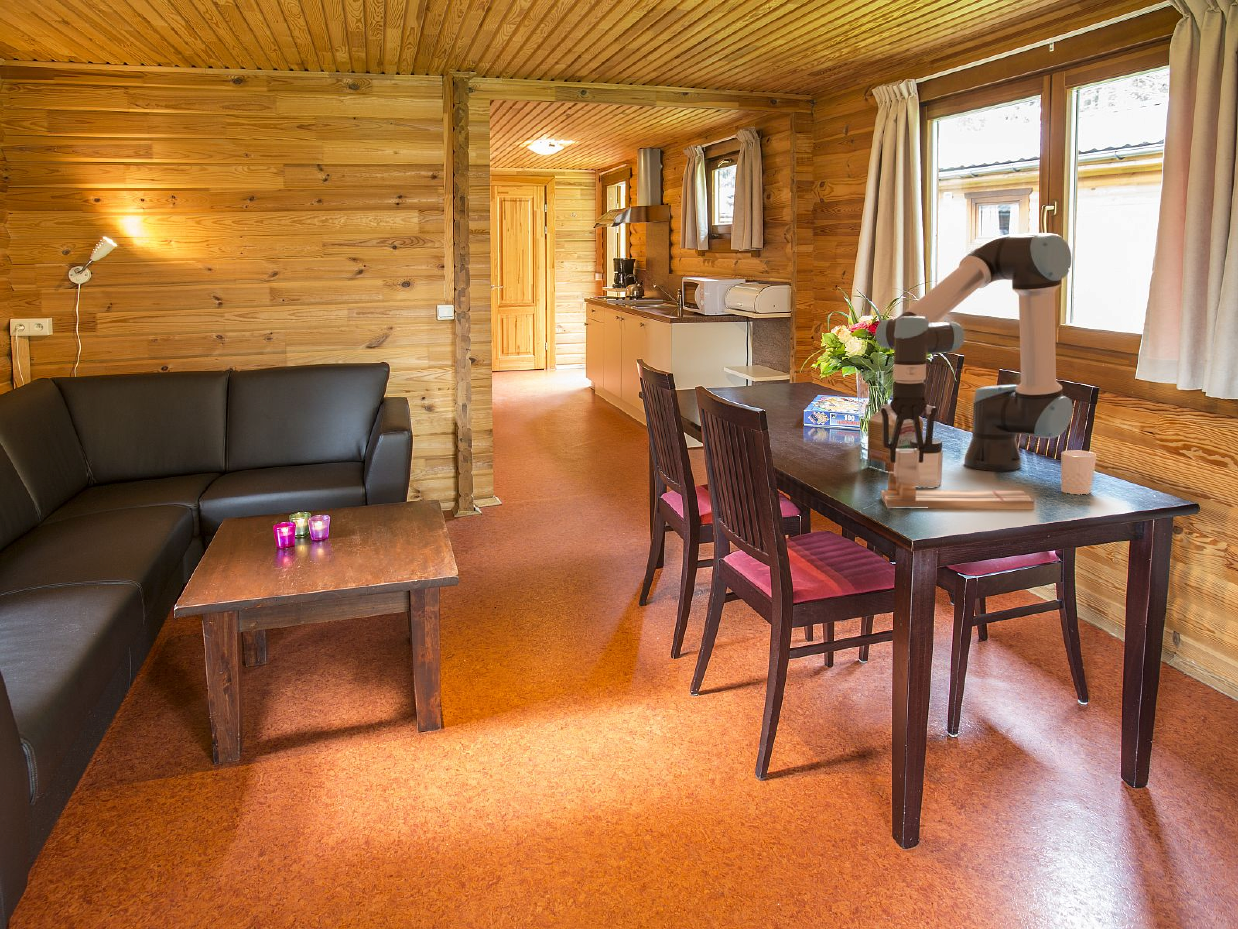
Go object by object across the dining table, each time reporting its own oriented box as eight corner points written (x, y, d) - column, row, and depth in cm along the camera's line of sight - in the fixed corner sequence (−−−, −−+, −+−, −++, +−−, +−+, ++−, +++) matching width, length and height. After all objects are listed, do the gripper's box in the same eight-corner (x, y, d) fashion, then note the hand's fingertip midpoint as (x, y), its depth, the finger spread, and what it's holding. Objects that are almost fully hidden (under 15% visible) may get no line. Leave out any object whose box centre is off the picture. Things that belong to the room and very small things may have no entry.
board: (881, 498, 236) (881, 490, 236) (1021, 498, 231) (1022, 490, 231) (886, 508, 226) (887, 500, 226) (1033, 509, 222) (1034, 500, 221)
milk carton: (895, 463, 274) (897, 399, 270) (921, 470, 264) (923, 404, 260) (867, 467, 269) (868, 402, 265) (892, 474, 260) (894, 407, 256)
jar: (948, 486, 246) (950, 441, 243) (924, 490, 242) (926, 445, 240) (923, 479, 253) (925, 436, 251) (900, 483, 250) (902, 439, 247)
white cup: (1097, 496, 232) (1100, 456, 229) (1063, 495, 233) (1066, 456, 231) (1088, 488, 239) (1091, 450, 237) (1055, 487, 241) (1058, 450, 238)
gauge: (888, 494, 238) (889, 444, 235) (912, 494, 237) (914, 444, 234) (896, 508, 225) (897, 456, 222) (921, 508, 224) (923, 455, 221)
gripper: (875, 383, 221) (872, 479, 227) (949, 382, 219) (944, 479, 224) (870, 379, 229) (868, 471, 234) (942, 378, 226) (938, 472, 231)
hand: (905, 475), depth 229 cm, fingers closed on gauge, 4 cm apart
